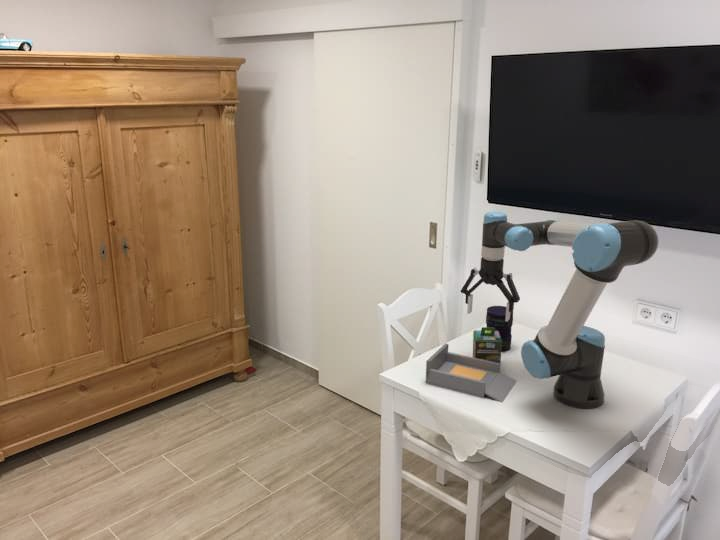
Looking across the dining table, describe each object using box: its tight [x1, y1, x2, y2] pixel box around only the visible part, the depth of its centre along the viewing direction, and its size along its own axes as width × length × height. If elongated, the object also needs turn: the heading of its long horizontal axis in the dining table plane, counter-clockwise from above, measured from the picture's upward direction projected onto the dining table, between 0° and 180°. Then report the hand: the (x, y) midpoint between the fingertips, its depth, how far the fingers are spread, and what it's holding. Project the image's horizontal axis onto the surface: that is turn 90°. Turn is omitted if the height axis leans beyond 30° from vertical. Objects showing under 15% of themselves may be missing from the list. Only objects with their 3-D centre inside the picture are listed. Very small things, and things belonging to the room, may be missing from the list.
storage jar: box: [485, 305, 514, 353], centre depth 223 cm, size 10×10×15 cm
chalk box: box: [472, 326, 502, 364], centre depth 208 cm, size 9×9×15 cm
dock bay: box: [425, 343, 518, 403], centre depth 197 cm, size 26×16×8 cm, turn 60°
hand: (488, 316), depth 205 cm, fingers open, 13 cm apart
